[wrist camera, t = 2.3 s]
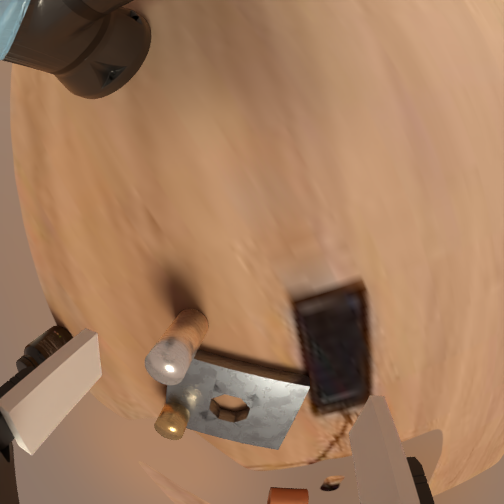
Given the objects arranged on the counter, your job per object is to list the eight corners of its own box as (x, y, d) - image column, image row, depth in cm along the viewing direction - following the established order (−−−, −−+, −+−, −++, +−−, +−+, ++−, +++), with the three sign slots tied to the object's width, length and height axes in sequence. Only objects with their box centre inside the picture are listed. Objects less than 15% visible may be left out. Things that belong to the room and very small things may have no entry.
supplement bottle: (46, 325, 44) (6, 354, 32) (67, 323, 42) (25, 355, 31) (61, 356, 45) (25, 388, 33) (82, 356, 44) (45, 392, 32)
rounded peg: (175, 332, 40) (144, 376, 29) (179, 304, 38) (145, 345, 28) (205, 341, 39) (181, 390, 29) (211, 314, 38) (186, 359, 28)
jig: (167, 411, 44) (154, 437, 37) (174, 341, 40) (156, 368, 33) (278, 439, 43) (276, 469, 36) (309, 376, 39) (311, 408, 32)
